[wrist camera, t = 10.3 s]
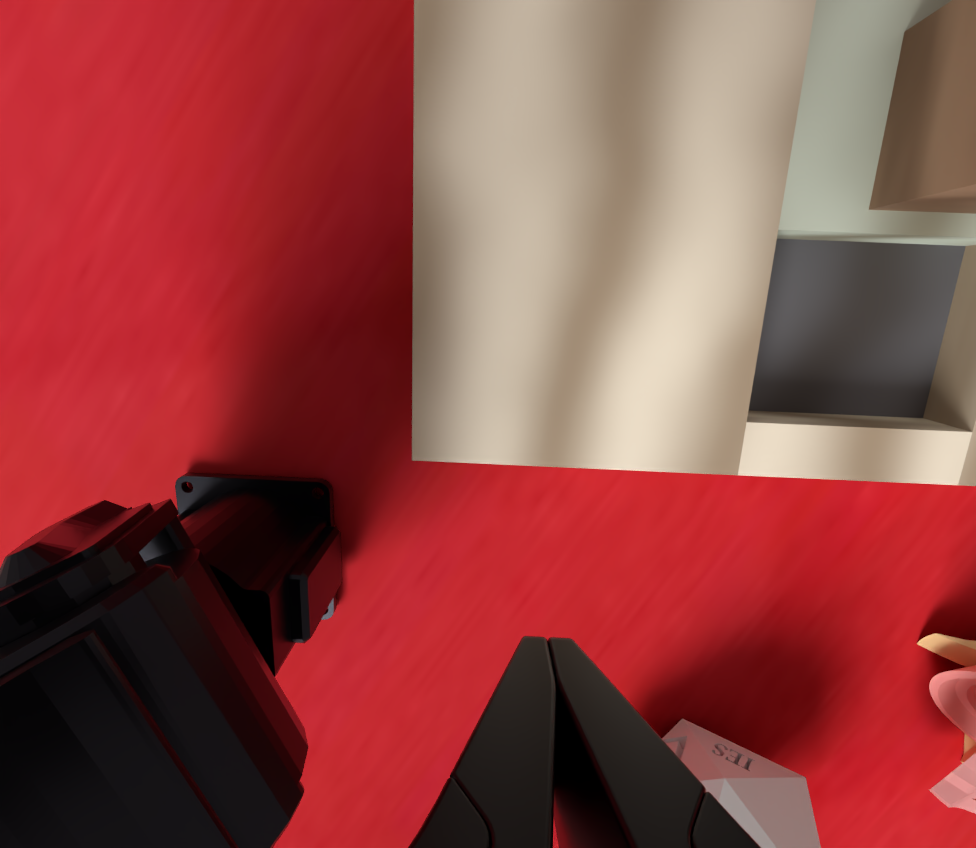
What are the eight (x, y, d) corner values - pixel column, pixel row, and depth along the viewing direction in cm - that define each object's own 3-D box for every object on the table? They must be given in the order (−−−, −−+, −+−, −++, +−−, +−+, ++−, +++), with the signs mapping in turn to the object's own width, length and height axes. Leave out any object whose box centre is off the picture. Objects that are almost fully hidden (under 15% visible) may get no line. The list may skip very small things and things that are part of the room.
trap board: (421, 441, 21) (396, 489, 16) (429, -313, 16) (392, -630, 10) (978, 466, 21) (1140, 524, 16) (1193, -294, 15) (1562, -608, 10)
